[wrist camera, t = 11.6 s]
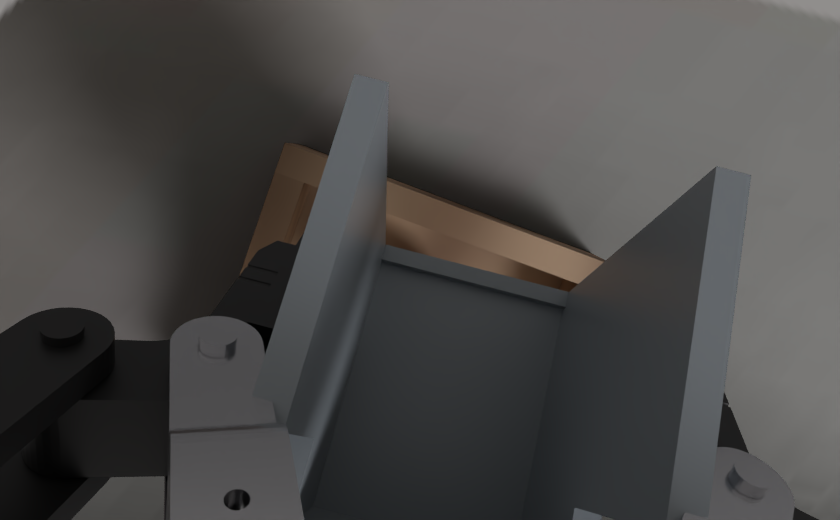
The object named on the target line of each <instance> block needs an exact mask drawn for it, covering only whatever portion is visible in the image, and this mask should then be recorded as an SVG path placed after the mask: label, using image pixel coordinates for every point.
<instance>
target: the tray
mask: <svg viewBox="0 0 840 520" xmlns="http://www.w3.org/2000/svg"><path fill="white" fill-rule="evenodd" d="M328 156H329V155H327V154H325V153H322V152H319V151H317V150H314V149H311V148H309V147H306V146H303V145H301V144H293V143H285V144H284V146H283V149H282V152H281V155H280V158H279V161H278V164H277V167H276V170H275V173H274V176H273V179H272V182H271V185H270V187H269V190H268V193H267V196H266V199H265V202H264V205H263V208H262V211H261V214H260V217H259V220H258V223H257V226H256V228H255V231H254V234H253V237H252V240H251V243H250V246H249V249H248V252H247V255H246V258H245V261H244V264H243V267H242V269H241V272H240V274H241V273H242V272H243V270H244V269H245V268H246V267H247V266H248V263H249V262H250V261H251V259H252V258H253V257H254V255H255V254H256V252H257V251H258V250H260V249H262V248H264V247H266V246H268V245H270V244H272V243H274V242H276V241H281V242H285V243H289V244H293V245H296V244H297V242H298V241H299V239H300V238H301V236H302V234H303V233H304V231H305V228H306V225H307V222H308V219H309V216H310V213H311V209H312V206H313V203H314V200H315V197H316V194H317V191H318V187H319V184H320V181H321V178H322V175H323V172H324V169H325V166H326V162H327V159H328ZM386 245H390V246H393V247H397V248H401V249H405V250H409V251H413V252H417V253H420V254H424V255H428V256H432V257H436V258H440V259H444V260H447V261H451V262H455V263H459V264H463V265H467V266H470V267H474V268H478V269H482V270H486V271H490V272H494V273H497V274H501V275H505V276H509V277H513V278H517V279H521V280H524V281H528V282H532V283H536V284H540V285H544V286H548V287H551V288H555V289H559V290H563V291H567V292H569V291H571V290H572V289H573V288H574V287H575V286H577V285H578V284H579V283H580V282H581V281H582V280H584V279H585V278H586V277H587V276H588V275H589V274H591V273H592V272H593V271H594V270H595V269H597V268H598V267H599V266H600V265H601V264H602V263H604V262H605V261H606V260H604V259H602V258H600V257H598V256H596V255H594V254H592V253H589V252H586V251H584V250H581V249H578V248H576V247H573V246H570V245H568V244H565V243H562V242H559V241H557V240H554V239H551V238H549V237H546V236H543V235H541V234H538V233H535V232H533V231H530V230H527V229H525V228H522V227H519V226H517V225H514V224H511V223H509V222H506V221H503V220H501V219H498V218H495V217H493V216H490V215H487V214H485V213H482V212H479V211H477V210H474V209H471V208H469V207H466V206H463V205H461V204H458V203H455V202H453V201H450V200H447V199H445V198H442V197H439V196H437V195H434V194H431V193H429V192H426V191H423V190H421V189H418V188H415V187H413V186H410V185H407V184H405V183H402V182H399V181H397V180H394V179H391V178H389V177H387V194H386ZM239 276H240V275H239ZM238 279H239V278H238Z"/></svg>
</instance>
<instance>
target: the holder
mask: <svg viewBox="0 0 840 520" xmlns="http://www.w3.org/2000/svg"><path fill="white" fill-rule="evenodd" d="M388 89H389V82H385V81H381V80H377V79H373V78H369V77H365V76H361V75H358V74H355V75H354V78H353V81H352V84H351V87H350V90H349V93H348V97H347V100H346V103H345V106H344V109H343V112H342V115H341V118H340V122H339V125H338V128H337V131H336V134H335V137H334V140H333V144H332V147H331V150H330V153H329V156H328V159H327V162H326V166H325V169H324V172H323V175H322V178H321V181H320V184H319V187H318V191H317V194H316V197H315V200H314V203H313V206H312V209H311V213H310V216H309V219H308V222H307V225H306V228H305V231H304V234H303V238H302V241H301V244H300V247H299V250H298V253H297V256H296V260H295V263H294V266H293V269H292V272H291V275H290V278H289V282H288V285H287V288H286V291H285V294H284V297H283V300H282V303H281V307H280V310H279V313H278V316H277V319H276V322H275V325H274V329H273V332H272V335H271V338H270V341H269V344H268V347H267V350H266V354H265V357H264V360H263V363H262V366H261V369H260V372H259V376H258V379H257V382H256V385H255V388H254V391H253V394H252V396H254V397H258V398H261V399H265V400H269V401H273V406H274V412H275V418H276V423H285V424H286V426H287V429H288V433H289V438H290V444H291V449H292V455H293V460H294V466H295V471H296V477H297V482H298V488H299V493H300V499H301V504H302V510H303V515H304V520H601V518H602V516H605V517H609V518H612V519H616V520H681V519H682V517H683V515H684V513H685V512H686V513H690V514H694V515H698V516H701V517H705V518H708V516H709V508H710V500H711V492H712V484H713V476H714V468H715V460H716V452H717V444H718V436H719V428H720V420H721V412H722V404H723V396H724V388H725V380H726V372H727V364H728V356H729V348H730V340H731V332H732V324H733V316H734V308H735V300H736V292H737V284H738V276H739V268H740V260H741V252H742V244H743V236H744V228H745V220H746V212H747V204H748V196H749V188H750V180H751V175H749V174H745V173H741V172H737V171H733V170H729V169H725V168H721V167H718V166H716V167H715V168H714V169H713V170H712V171H710V172H709V173H708V174H707V175H706V176H705V177H703V178H702V179H701V180H700V181H699V182H698V183H696V184H695V185H694V186H693V187H692V188H690V189H689V190H688V191H687V192H686V193H685V194H683V195H682V196H681V197H680V198H679V199H678V200H676V201H675V202H674V203H673V204H672V205H671V206H669V207H668V208H667V209H666V210H665V211H663V212H662V213H661V214H660V215H659V216H658V217H656V218H655V219H654V220H653V221H652V222H651V223H649V224H648V225H647V226H646V227H645V228H643V229H642V230H641V231H640V232H639V233H638V234H636V235H635V236H634V237H633V238H632V239H631V240H629V241H628V242H627V243H626V244H625V245H624V246H622V247H621V248H620V249H619V250H618V251H616V252H615V253H614V254H613V255H612V256H611V257H609V258H608V259H607V260H606V261H605V262H604V263H602V264H601V265H600V266H599V267H598V268H597V269H595V270H594V271H593V272H592V273H591V274H589V275H588V276H587V277H586V278H585V279H584V280H582V281H581V282H580V283H579V284H578V285H577V286H575V287H574V288H573V289H572V290H571V291H569V292H567V291H563V290H559V289H555V288H551V287H548V286H544V285H540V284H536V283H532V282H528V281H524V280H521V279H517V278H513V277H509V276H505V275H501V274H497V273H494V272H490V271H486V270H482V269H478V268H474V267H470V266H467V265H463V264H459V263H455V262H451V261H447V260H444V259H440V258H436V257H432V256H428V255H424V254H420V253H417V252H413V251H409V250H405V249H401V248H397V247H393V246H390V245H386V194H387V141H388Z"/></svg>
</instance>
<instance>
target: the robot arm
mask: <svg viewBox="0 0 840 520" xmlns="http://www.w3.org/2000/svg"><path fill="white" fill-rule="evenodd" d="M303 234H304V233H303ZM303 234H302V236H301V238H300V239H299V241H298V242H297V244H296V245H293V244H289V243H285V242H281V241H276V242H274V243H272V244H270V245H268V246H266V247H264V248H262V249H260V250H258V251H257V252H256V254H255V255H254V257H253V258H252V259H251V261H250V262H249V263H248V266H247V267H246V268H245V269H244V270H243V272H242V273H241V274H240V276H239V279H237V280H236V281H235V283H234V284H233V285H232V287H231V288H230V289H229V291H228V292H227V293H226V295H225V296H224V298H223V299H222V300H221V302H220V303H219V304H218V306H217V307H216V309H215V310H214V311H213V313H212V314H211V315H210V316H206V317H200V318H196V319H193V320H190V321H188V322H186V323H184V324H183V325H181V326H180V327H179V328H177V329H176V330H175V332H174V333H173V335H172V337H171V339H170V340H163V341H134V340H115V332H114V327H113V326H112V324H111V322H110V321H109V320H108V319H107V318H105V317H104V316H102V315H100V314H98V313H96V312H93V311H90V310H86V309H81V308H55V309H49V310H45V311H41V312H38V313H35V314H33V315H30V316H28V317H26V318H25V319H23V320H21V321H20V322H18V323H16V324H15V325H13V326H12V327H10V328H9V329H7V330H6V331H4V332H2V333H1V334H0V520H71V519H72V518H73V517H74V516H75V515H76V514H77V513H78V512H79V511H80V510H81V509H82V508H83V507H84V505H85V504H86V503H87V502H88V501H89V500H90V499H91V498H92V497H93V496H94V495H95V494H96V493H97V492H98V491H99V490H100V489H101V488H102V487H103V486H104V484H105V483H106V482H107V481H108V480H109V479H110V477H138V476H164V520H304V515H303V510H302V504H301V499H300V493H299V488H298V482H297V477H296V471H295V466H294V460H293V455H292V449H291V444H290V438H289V433H288V429H287V426H286V424H285V423H276V418H275V412H274V406H273V401H269V400H265V399H261V398H258V397H254V396H252V394H253V391H254V388H255V385H256V382H257V379H258V376H259V372H260V369H261V366H262V363H263V360H264V357H265V354H266V350H267V347H268V344H269V341H270V338H271V335H272V332H273V329H274V325H275V322H276V319H277V316H278V313H279V310H280V307H281V303H282V300H283V297H284V294H285V291H286V288H287V285H288V282H289V278H290V275H291V272H292V269H293V266H294V263H295V260H296V256H297V253H298V250H299V247H300V244H301V241H302V238H303ZM728 404H729V403H728V400H727V398H726V395H725V393H724V396H723V404H722V412H721V420H720V428H719V436H718V444H717V452H716V460H715V468H714V476H713V484H712V492H711V500H710V508H709V516H708V518H705V517H701V516H698V515H694V514H690V513H686V512H685V513H684V515H683V517H682V519H681V520H818V519H816V518H814V517H812V516H810V515H808V514H806V513H804V512H802V511H800V510H798V509H797V508H795V500H794V496H793V493H792V491H791V489H790V488H789V486H788V484H787V483H786V482H785V480H784V479H783V478H782V477H781V476H780V475H779V474H778V473H777V472H776V471H775V470H774V469H773V468H772V467H770V466H769V465H768V464H766V463H765V462H763V461H762V460H760V459H759V458H757V457H755V456H753V455H751V454H749V452H748V450H747V448H746V445H745V443H744V440H743V438H742V435H741V433H740V430H739V428H738V425H737V423H736V420H735V418H734V415H733V413H732V410H731V408H730V407H728Z"/></svg>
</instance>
